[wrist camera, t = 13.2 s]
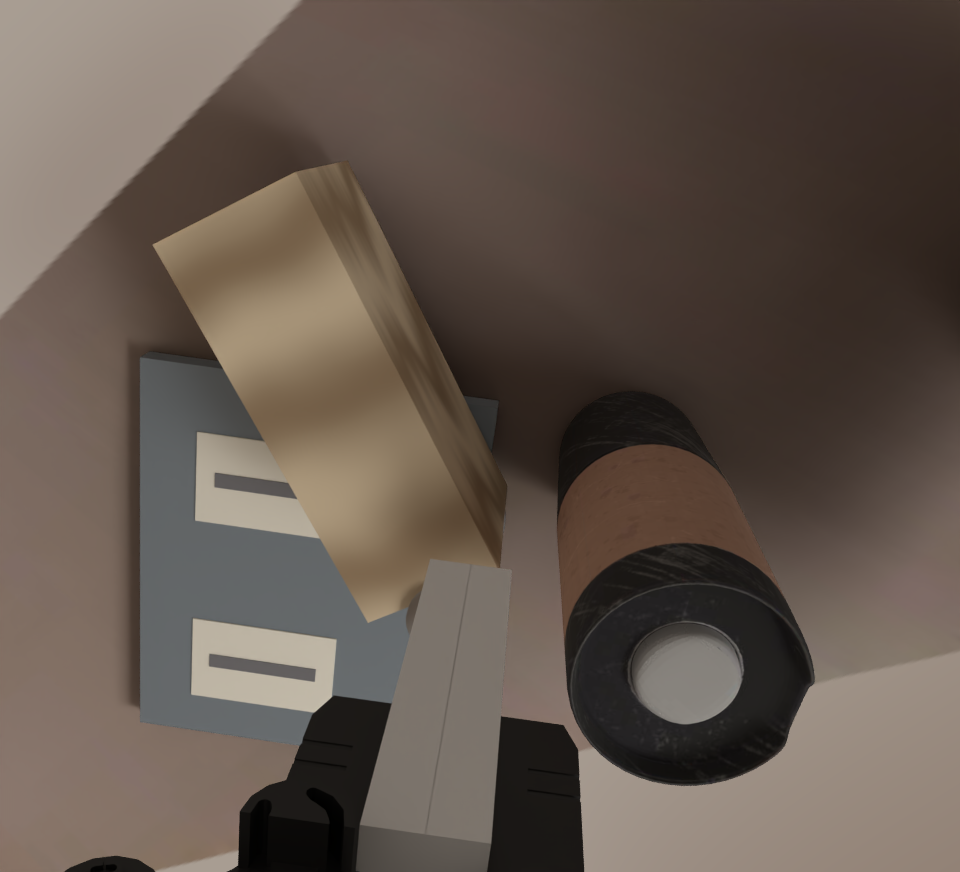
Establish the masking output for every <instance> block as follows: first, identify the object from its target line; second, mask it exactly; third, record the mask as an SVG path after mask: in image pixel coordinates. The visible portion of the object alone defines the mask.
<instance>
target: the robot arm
mask: <svg viewBox="0 0 960 872" xmlns="http://www.w3.org/2000/svg"><path fill="white" fill-rule="evenodd" d="M511 577H512V570H509V569H502V568H495V567H487V566H480V565H472V564H465V563H458V562H450V561H443V560H436V559H430V562H429V565H428V569H427V573H426V577H425V581H424V584H423V588H422V592H421V596H420V599H419V603H418V607H417V611H416V614H415V618H414V622H413V626H412V630H411V633H410V637H409V641H408V645H407V648H406V652H405V656H404V660H403V663H402V667H401V671H400V675H399V679H398V682H397V686H396V690H395V694H394V697H393V701H392V703H385V702H378V701H371V700H364V699H357V698H350V697H342V696H335V695H334V696H333V697H331V698H330V699H329V700H328V701H327V702H326V703H325V704H323V705H322V706H321V707H320V708H319V709H318V710H317V711H316V712H314V713H313V714H312V716H311V719H310V721H309V724H308V726H307V729H306V731H305V734H304V736H303V740H302V744H300V747H299V749H298V752H297V754H296V757H295V761H294V764H292V767H291V769H290V772H289V774H288V777H287V780H285V781H282V782H278V783H275V784H271V785H268V786H266V787H265V788H263V789H262V790H260V791H259V792H257V793H255V794H254V795H252V796H251V797H250V798H249V800H248V801H247V802H246V804H245V805H244V807H243V808H242V809H241V811H240V823H239V855H238V856H239V857H238V866H237V867H235V868H234V869H232V870H230V871H228V872H584V858H583V839H582V820H581V819H582V818H581V802H580V781H579V759H578V749H577V747H576V745H575V744H574V742H573V740H572V739H571V737H570V735H569V734H568V732H567V730H566V729H565V727H564V726H563V725H559V724H552V723H544V722H537V721H530V720H523V719H516V718H509V717H502V716H501V708H502V695H503V682H504V669H505V655H506V642H507V629H508V616H509V603H510V590H511ZM65 872H155V871H154V869H152V868H150V867H149V866H147V865H146V864H144V863H143V862H141V861H139V860H137V859H132V858H126V857H121V856H111V857H102V858H94V859H91V860H88V861H86V862H83V863H81V864H78V865H76V866H73V867H71V868H69V869H67V870H66V871H65Z"/></svg>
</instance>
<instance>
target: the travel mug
mask: <svg viewBox="0 0 960 872" xmlns="http://www.w3.org/2000/svg"><path fill="white" fill-rule="evenodd" d="M557 537H558V553H559V568H560V584H561V599H562V614H563V630H564V645H565V661H566V676H567V690H568V695H569V700H570V705H571V709H572V711H573V714H574V717H575V720H576V722H577V724H578V726H579V728H580V730H581V731H582V733H583V735H584V736H585V737H586V739H587V740H588V741H589V743H590V744H591V745H592V746H593V747H594V748H595V749H596V750H597V751H598V752H599V753H600V754H601V755H602V756H603V757H605V758H606V759H607V760H608V761H610V762H611V763H612V764H614V765H615V766H617V767H619V768H621V769H622V770H624V771H626V772H628V773H630V774H632V775H635V776H637V777H640V778H643V779H646V780H649V781H652V782H657V783H662V784H668V785H679V786H692V785H693V786H697V785H705V784H712V783H717V782H722V781H726V780H729V779H732V778H735V777H738V776H741V775H743V774H745V773H747V772H750V771H752V770H754V769H756V768H757V767H759V766H761V765H763V764H764V763H766V762H768V761H769V760H770V759H772V758H773V757H774V756H775V755H777V754H778V753H779V752H780V751H781V750H782V749H783V747H784V746H785V744H786V741H787V738H788V734H789V730H790V727H791V725H792V722H793V720H794V717H795V715H796V713H797V711H798V709H799V707H800V705H801V702H802V701H803V698H804V696H805V694H806V692H807V690H808V688H809V687H810V686H812V685H813V684H814V681H815V676H814V668H813V664H812V659H811V656H810V653H809V650H808V647H807V644H806V642H805V639H804V637H803V635H802V633H801V630H800V628H799V626H798V624H797V622H796V620H795V618H794V616H793V614H792V612H791V610H790V608H789V606H788V604H787V602H786V600H785V598H784V596H783V594H782V592H781V590H780V587H779V585H778V583H777V581H776V579H775V577H774V575H773V573H772V571H771V569H770V567H769V565H768V563H767V561H766V559H765V557H764V555H763V553H762V551H761V549H760V547H759V545H758V542H757V540H756V538H755V536H754V534H753V532H752V530H751V528H750V526H749V524H748V522H747V520H746V518H745V516H744V514H743V512H742V510H741V508H740V506H739V504H738V502H737V500H736V498H735V495H734V493H733V491H732V489H731V488H730V486H729V484H728V483H727V481H726V479H725V478H724V476H723V475H722V473H721V471H720V470H719V468H718V466H717V465H716V463H715V461H714V460H713V458H712V457H711V455H710V453H709V452H708V450H707V448H706V447H705V445H704V444H703V442H702V440H701V439H700V437H699V435H698V434H697V432H696V431H695V429H694V427H693V426H692V424H691V423H690V421H689V420H688V419H687V418H686V417H685V415H684V414H683V413H682V412H681V411H680V410H679V409H678V408H677V407H675V406H674V405H673V404H671V403H670V402H668V401H666V400H664V399H662V398H660V397H658V396H655V395H652V394H647V393H643V392H620V393H615V394H611V395H608V396H605V397H602V398H600V399H598V400H596V401H594V402H593V403H591V404H589V405H588V406H587V407H586V408H584V409H583V410H582V411H581V412H580V413H579V414H578V415H577V416H576V417H575V418H574V420H573V421H572V422H571V424H570V425H569V427H568V429H567V430H566V433H565V435H564V438H563V440H562V445H561V449H560V457H559V476H558V510H557Z"/></svg>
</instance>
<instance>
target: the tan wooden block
mask: <svg viewBox="0 0 960 872" xmlns="http://www.w3.org/2000/svg"><path fill="white" fill-rule="evenodd" d="M153 246H154V248H155V250H156V252H157V253H158V255H159V257H160V259H161V261H162V262H163V264H164V266H165V268H166V269H167V271H168V273H169V275H170V276H171V278H172V280H173V282H174V283H175V285H176V287H177V289H178V290H179V292H180V294H181V296H182V297H183V299H184V301H185V303H186V304H187V306H188V308H189V310H190V311H191V313H192V315H193V317H194V318H195V320H196V322H197V324H198V325H199V327H200V329H201V331H202V332H203V334H204V336H205V338H206V339H207V341H208V343H209V345H210V346H211V348H212V350H213V352H214V353H215V355H216V357H217V359H218V361H219V362H220V364H221V366H222V368H223V369H224V371H225V373H226V375H227V376H228V378H229V380H230V382H231V383H232V385H233V387H234V389H235V390H236V392H237V394H238V396H239V397H240V399H241V401H242V403H243V404H244V406H245V408H246V410H247V411H248V413H249V415H250V417H251V418H252V420H253V422H254V424H255V425H256V427H257V429H258V431H259V432H260V434H261V436H262V438H263V439H264V441H265V443H266V445H267V446H268V448H269V450H270V452H271V453H272V455H273V457H274V459H275V460H276V462H277V464H278V466H279V468H280V469H281V471H282V473H283V475H284V476H285V478H286V480H287V482H288V483H289V485H290V487H291V489H292V490H293V492H294V494H295V496H296V497H297V499H298V501H299V503H300V504H301V506H302V508H303V510H304V511H305V513H306V515H307V517H308V518H309V520H310V522H311V524H312V525H313V527H314V529H315V531H316V532H317V534H318V536H319V538H320V539H321V541H322V543H323V545H324V546H325V548H326V550H327V552H328V553H329V555H330V557H331V559H332V560H333V562H334V564H335V566H336V568H337V569H338V571H339V573H340V575H341V576H342V578H343V580H344V582H345V583H346V585H347V587H348V589H349V590H350V592H351V594H352V596H353V597H354V599H355V601H356V603H357V604H358V606H359V608H360V610H361V611H362V613H363V615H364V617H365V618H366V620H367V622H368V623H369V622H371V621H374V620H377V619H379V618H382V617H384V616H387V615H389V614H392V613H395V612H397V611H400V610H402V609H405V608H407V607H408V610H407V614H406V627H407V630H408V633H409V635H410V633H411V630H412V626H413V622H414V618H415V614H416V611H417V607H418V603H419V599H420V596H421V592H422V588H423V584H424V581H425V577H426V573H427V569H428V565H429V562H430V559H436V560H443V561H450V562H458V563H465V564H472V565H480V566H487V567H495V568H500V561H501V549H502V538H503V527H504V515H505V504H506V493H507V484H506V482H505V480H504V478H503V476H502V474H501V472H500V470H499V468H498V466H497V464H496V462H495V460H494V458H493V456H492V454H491V452H490V450H489V448H488V446H487V444H486V442H485V439H484V437H483V435H482V433H481V431H480V429H479V427H478V425H477V423H476V421H475V419H474V417H473V415H472V413H471V411H470V409H469V407H468V405H467V403H466V401H465V399H464V397H463V395H462V393H461V391H460V389H459V387H458V385H457V383H456V380H455V378H454V376H453V374H452V372H451V370H450V368H449V366H448V364H447V362H446V360H445V358H444V356H443V354H442V352H441V350H440V348H439V346H438V344H437V342H436V340H435V338H434V336H433V334H432V332H431V330H430V328H429V326H428V323H427V321H426V319H425V317H424V315H423V313H422V311H421V309H420V307H419V305H418V303H417V301H416V299H415V297H414V295H413V293H412V291H411V289H410V287H409V285H408V283H407V281H406V279H405V277H404V275H403V273H402V271H401V269H400V266H399V264H398V262H397V260H396V258H395V256H394V254H393V252H392V250H391V248H390V246H389V244H388V242H387V240H386V238H385V236H384V234H383V232H382V230H381V228H380V226H379V224H378V222H377V220H376V218H375V216H374V214H373V212H372V209H371V207H370V205H369V203H368V201H367V199H366V197H365V195H364V193H363V191H362V189H361V187H360V185H359V183H358V181H357V179H356V177H355V175H354V173H353V171H352V169H351V167H350V165H349V163H348V161H343V162H339V163H334V164H329V165H325V166H320V167H315V168H311V169H306V170H302V171H297V172H294V173H292V174H290V175H288V176H286V177H284V178H282V179H280V180H279V181H277V182H275V183H273V184H271V185H269V186H267V187H265V188H263V189H261V190H259V191H257V192H255V193H253V194H251V195H249V196H247V197H245V198H243V199H241V200H239V201H237V202H235V203H233V204H231V205H229V206H227V207H226V208H224V209H222V210H220V211H218V212H216V213H214V214H212V215H210V216H208V217H206V218H204V219H202V220H200V221H198V222H196V223H194V224H192V225H190V226H188V227H186V228H184V229H182V230H180V231H178V232H176V233H174V234H172V235H171V236H169V237H167V238H165V239H163V240H161V241H159V242H157V243H155V244H153Z"/></svg>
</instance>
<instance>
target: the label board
mask: <svg viewBox="0 0 960 872" xmlns="http://www.w3.org/2000/svg"><path fill="white" fill-rule="evenodd" d="M463 397H464V399H465V401H466V403H467V405H468V407H469V409H470V411H471V413H472V415H473V417H474V419H475V421H476V423H477V425H478V427H479V429H480V431H481V433H482V435H483V437H484V439H485V442H486V444H487V446H488V448H489V450H490V452H491V453H492V446H493V439H494V432H495V425H496V418H497V411H498V404H499V401H497V400H490V399H483V398H476V397H469V396H463ZM505 519H506V512H505V515H504V527H503V533H504V529H505ZM407 610H408V607H407V608H405V609H402V610H400V611H397V612H395V613H392V614H389V615H387V616H384V617H382V618H379V619H377V620H374V621H371V622H369V623H368V622H367V620H366V618H365V617H364V615H363V613H362V611H361V610H360V608H359V606H358V604H357V603H356V601H355V599H354V597H353V596H352V594H351V592H350V590H349V589H348V587H347V585H346V583H345V582H344V580H343V578H342V576H341V575H340V573H339V571H338V569H337V568H336V566H335V564H334V562H333V560H332V559H331V557H330V555H329V553H328V552H327V550H326V548H325V546H324V545H323V543H322V541H321V539H320V538H319V536H318V534H317V532H316V531H315V529H314V527H313V525H312V524H311V522H310V520H309V518H308V517H307V515H306V513H305V511H304V510H303V508H302V506H301V504H300V503H299V501H298V499H297V497H296V496H295V494H294V492H293V490H292V489H291V487H290V485H289V483H288V482H287V480H286V478H285V476H284V475H283V473H282V471H281V469H280V468H279V466H278V464H277V462H276V460H275V459H274V457H273V455H272V453H271V452H270V450H269V448H268V446H267V445H266V443H265V441H264V439H263V438H262V436H261V434H260V432H259V431H258V429H257V427H256V425H255V424H254V422H253V420H252V418H251V417H250V415H249V413H248V411H247V410H246V408H245V406H244V404H243V403H242V401H241V399H240V397H239V396H238V394H237V392H236V390H235V389H234V387H233V385H232V383H231V382H230V380H229V378H228V376H227V375H226V373H225V371H224V369H223V368H222V366H221V364H220V362H219V361H214V360H207V359H200V358H193V357H186V356H179V355H172V354H165V353H157V352H148V353H146V354H145V355H143V356H141V357H140V722H144V723H150V724H157V725H164V726H171V727H177V728H184V729H191V730H198V731H204V732H211V733H218V734H225V735H231V736H238V737H245V738H252V739H258V740H265V741H272V742H279V743H285V744H292V745H299V746H300V744H302V740H303V736H304V734H305V731H306V729H307V726H308V724H309V721H310V719H311V716H312V714H313V713H314V712H316V711H317V710H318V709H319V708H320V707H321V706H322V705H323V704H325V703H326V702H327V701H328V700H329V699H330V698H331V697H333V696H334V695H335V696H342V697H350V698H357V699H364V700H371V701H378V702H385V703H392V701H393V697H394V694H395V690H396V686H397V682H398V679H399V675H400V671H401V667H402V663H403V660H404V656H405V652H406V648H407V645H408V641H409V637H410V635H409V633H408V630H407V627H406V614H407Z"/></svg>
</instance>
